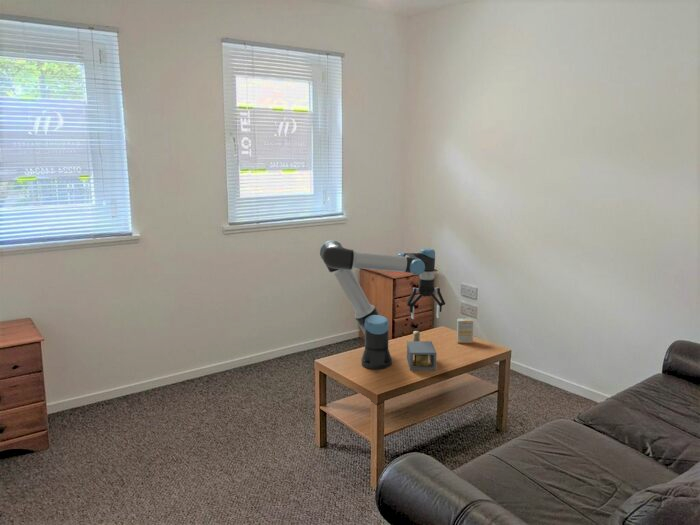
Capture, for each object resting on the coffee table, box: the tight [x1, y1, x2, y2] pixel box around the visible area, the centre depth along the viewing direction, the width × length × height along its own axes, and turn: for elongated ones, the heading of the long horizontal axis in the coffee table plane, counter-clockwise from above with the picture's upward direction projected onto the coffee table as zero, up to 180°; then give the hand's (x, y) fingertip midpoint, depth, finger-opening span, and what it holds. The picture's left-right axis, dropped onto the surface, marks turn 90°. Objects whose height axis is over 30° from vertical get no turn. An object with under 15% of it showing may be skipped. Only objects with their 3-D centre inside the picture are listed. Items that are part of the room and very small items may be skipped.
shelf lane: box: [406, 340, 437, 372], centre depth 272 cm, size 12×16×9 cm
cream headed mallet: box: [412, 330, 429, 367], centre depth 281 cm, size 6×25×10 cm, turn 0°
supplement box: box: [456, 317, 474, 344], centre depth 302 cm, size 8×5×13 cm, turn 84°
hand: (425, 318), depth 288 cm, fingers open, 13 cm apart
